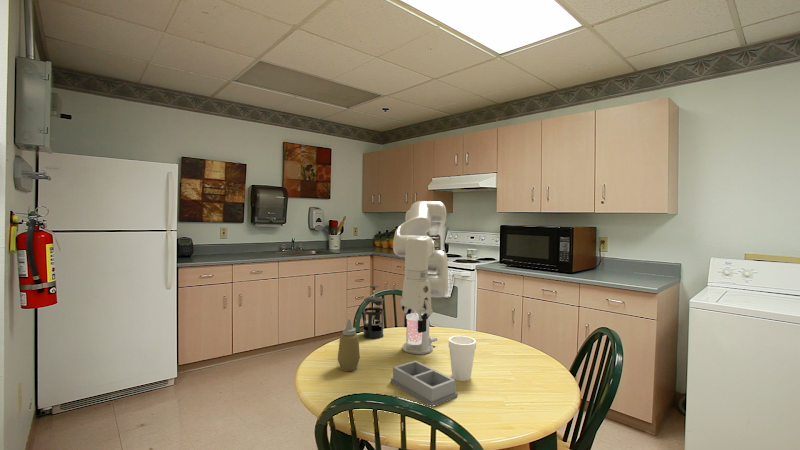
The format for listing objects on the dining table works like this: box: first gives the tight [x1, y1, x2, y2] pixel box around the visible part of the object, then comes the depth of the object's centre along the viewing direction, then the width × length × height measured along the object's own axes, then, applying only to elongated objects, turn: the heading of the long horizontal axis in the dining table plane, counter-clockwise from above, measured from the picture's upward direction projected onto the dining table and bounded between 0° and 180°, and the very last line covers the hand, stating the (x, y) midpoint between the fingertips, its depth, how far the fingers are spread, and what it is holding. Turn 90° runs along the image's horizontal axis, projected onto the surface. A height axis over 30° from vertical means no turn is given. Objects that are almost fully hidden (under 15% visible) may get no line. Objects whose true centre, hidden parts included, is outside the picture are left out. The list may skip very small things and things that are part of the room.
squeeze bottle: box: [337, 318, 361, 372], centre depth 137 cm, size 8×8×18 cm
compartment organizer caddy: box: [390, 360, 459, 408], centre depth 122 cm, size 20×11×5 cm, turn 38°
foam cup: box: [448, 335, 477, 382], centre depth 132 cm, size 10×9×13 cm
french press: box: [362, 285, 385, 340], centre depth 174 cm, size 12×9×23 cm
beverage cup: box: [406, 311, 423, 345], centre depth 125 cm, size 6×6×14 cm
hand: (415, 328), depth 125 cm, fingers closed on beverage cup, 6 cm apart
